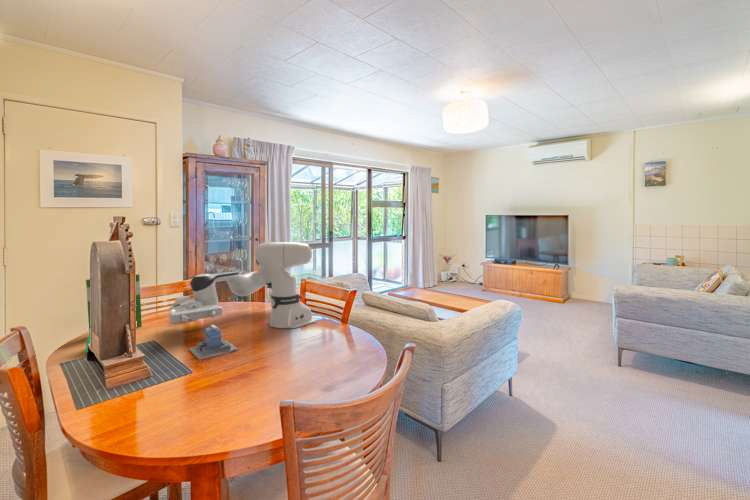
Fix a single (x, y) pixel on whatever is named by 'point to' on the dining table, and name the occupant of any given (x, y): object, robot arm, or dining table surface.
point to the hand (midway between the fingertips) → (201, 317)
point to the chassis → (212, 349)
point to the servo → (213, 337)
